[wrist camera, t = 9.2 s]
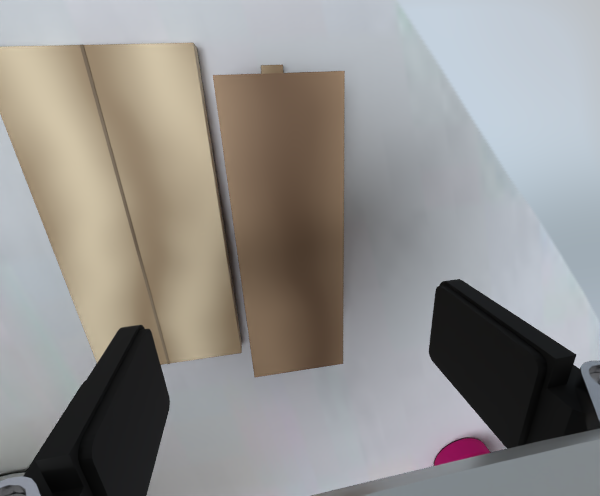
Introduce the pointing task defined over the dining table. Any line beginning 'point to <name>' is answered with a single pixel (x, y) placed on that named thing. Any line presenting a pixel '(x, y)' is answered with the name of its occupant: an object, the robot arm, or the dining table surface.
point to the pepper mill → (461, 451)
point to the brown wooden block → (287, 212)
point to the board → (127, 189)
